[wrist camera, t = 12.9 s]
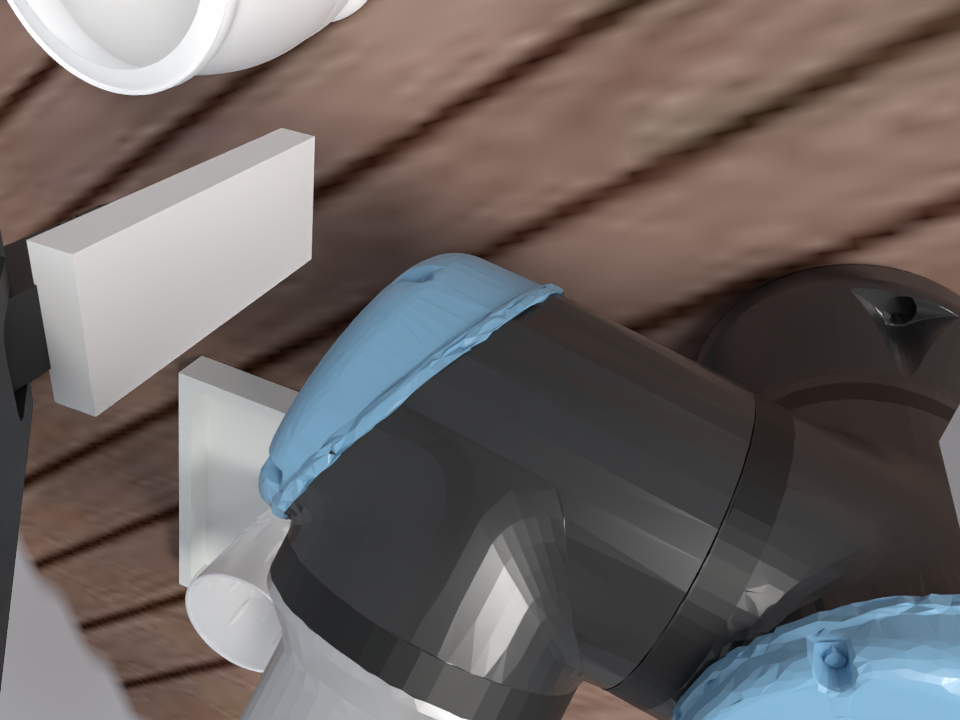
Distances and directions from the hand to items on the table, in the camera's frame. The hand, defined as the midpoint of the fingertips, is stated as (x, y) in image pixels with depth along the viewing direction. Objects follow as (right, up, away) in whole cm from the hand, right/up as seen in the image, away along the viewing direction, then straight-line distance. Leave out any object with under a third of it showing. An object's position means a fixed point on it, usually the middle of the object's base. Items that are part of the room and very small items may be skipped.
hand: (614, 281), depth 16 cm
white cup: (-14, -13, +42) cm, 47 cm away
